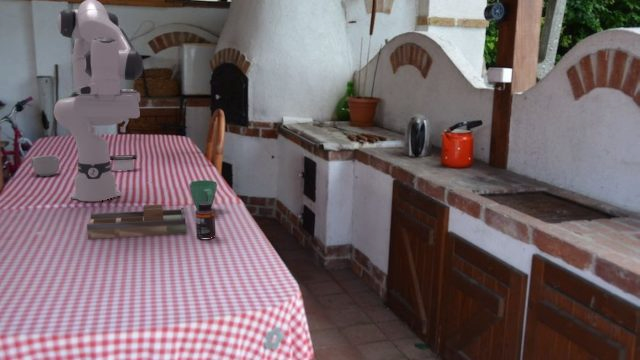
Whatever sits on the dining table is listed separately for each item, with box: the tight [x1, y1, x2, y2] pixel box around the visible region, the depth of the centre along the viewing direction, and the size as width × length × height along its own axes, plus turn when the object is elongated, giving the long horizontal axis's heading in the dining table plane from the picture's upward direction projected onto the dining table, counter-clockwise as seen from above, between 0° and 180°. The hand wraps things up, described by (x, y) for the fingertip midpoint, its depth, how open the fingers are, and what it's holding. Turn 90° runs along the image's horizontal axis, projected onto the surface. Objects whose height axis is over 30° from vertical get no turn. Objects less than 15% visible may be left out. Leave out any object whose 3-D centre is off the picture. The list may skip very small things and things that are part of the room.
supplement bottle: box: [195, 202, 216, 239], centre depth 200 cm, size 6×6×11 cm
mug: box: [189, 179, 218, 211], centre depth 229 cm, size 15×10×10 cm
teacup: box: [29, 154, 60, 177], centre depth 283 cm, size 14×11×8 cm
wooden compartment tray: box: [86, 207, 187, 240], centre depth 207 cm, size 13×30×5 cm, turn 104°
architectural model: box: [109, 152, 137, 172], centre depth 294 cm, size 20×25×10 cm
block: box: [143, 203, 164, 221], centre depth 207 cm, size 6×6×4 cm
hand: (107, 132), depth 204 cm, fingers open, 8 cm apart
